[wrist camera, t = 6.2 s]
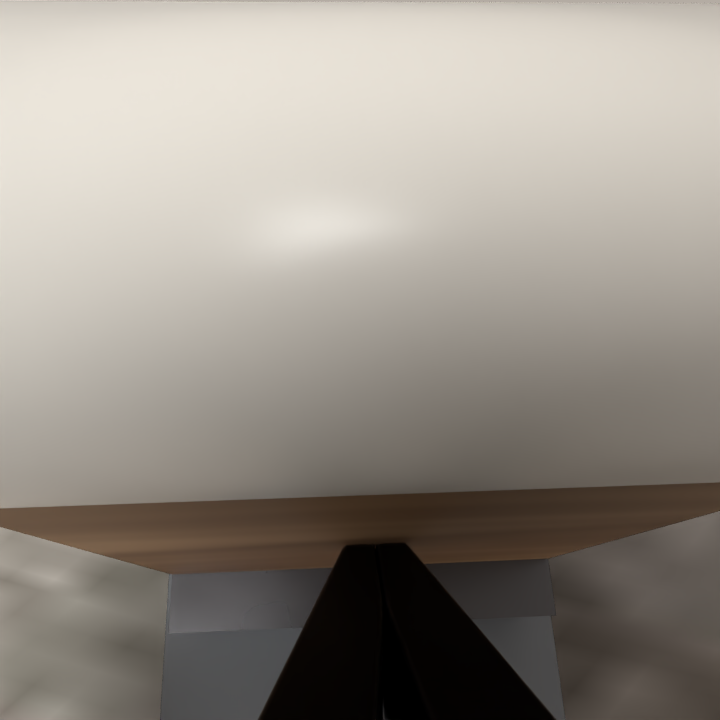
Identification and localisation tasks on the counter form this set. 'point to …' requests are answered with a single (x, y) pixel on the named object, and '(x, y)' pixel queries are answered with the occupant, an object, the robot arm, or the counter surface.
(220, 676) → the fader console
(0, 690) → the counter surface
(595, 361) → the slide lever
